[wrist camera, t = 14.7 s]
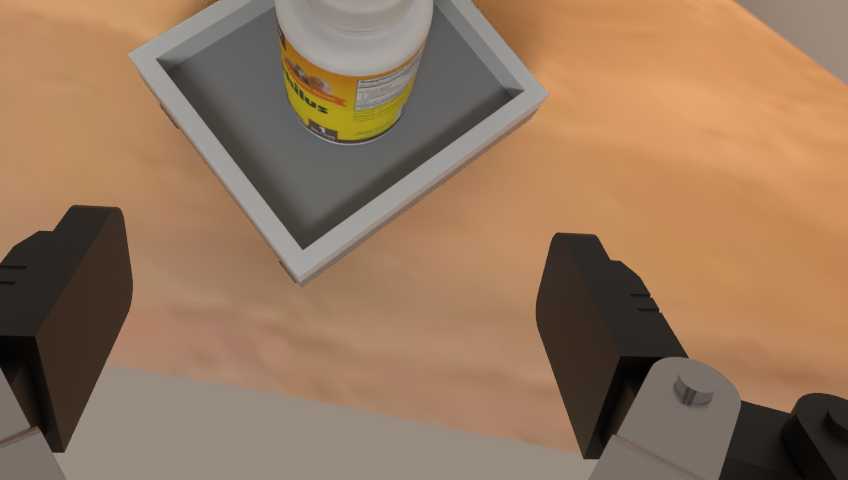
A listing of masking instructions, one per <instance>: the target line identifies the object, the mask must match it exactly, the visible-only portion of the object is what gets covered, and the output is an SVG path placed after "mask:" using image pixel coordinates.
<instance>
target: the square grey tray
mask: <svg viewBox="0 0 848 480" xmlns="http://www.w3.org/2000/svg"><path fill="white" fill-rule="evenodd" d="M128 55H129V57H130V59H131V61H132V62H133V64H134V66H135V67H136V69H137V71H138V72H139V74H140V76H141V77H142V79H143V81H144V82H145V84H146V85H147V87H148V88H149V89H150V91H151V92H152V93H153V95H154V96H155V97H156V99H157V100H158V101H159V102H160V106H161V108H162V109H163V111H164V112H165V113H166V115H167V116H168V117H169V119H170V120H171V121H172V123H173V124H174V125H175V126H176V128H178V129H180V130H181V131H182V133H183V134H184V135H185V136H186V138H187V139H188V140H189V142H190V143H191V144H192V146H193V147H194V148H195V150H196V151H197V152H198V154H199V155H200V156H201V157H202V159H203V160H204V161H205V163H206V164H207V165H208V167H209V168H210V169H211V171H212V172H213V173H214V174H215V176H216V177H217V178H218V180H219V181H220V182H221V184H222V185H223V186H224V188H225V189H226V190H227V191H228V193H229V194H230V195H231V197H232V198H233V199H234V201H235V202H236V203H237V205H238V206H239V207H240V208H241V210H242V211H243V212H244V214H245V215H246V216H247V218H248V219H249V220H250V222H251V223H252V224H253V226H254V227H255V228H256V229H257V231H258V232H259V233H260V235H261V236H262V237H263V239H264V240H265V241H266V243H267V244H268V245H269V246H270V248H271V249H272V250H273V252H274V253H275V254H276V256H277V257H278V258H279V260H280V261H279V263H280V264H281V265H282V267H283V268H284V269H285V271H286V272H287V273H288V274H289V276H290V277H291V278H292V280H293V281H294V282H295V283H298V284H299V286H300V287H301V288H302V287H303V286H304V285H306V284H307V283H308V282H310V281H311V280H312V279H314V278H315V277H317V276H318V275H319V274H321V273H322V272H323V271H325V270H326V269H327V268H329V267H330V266H332V265H333V264H334V263H336V262H337V261H338V260H340V259H341V258H342V257H344V256H345V255H346V254H348V253H349V252H351V251H352V250H353V249H355V248H356V247H357V246H359V245H360V244H361V243H363V242H364V241H365V240H367V239H368V238H370V237H371V236H372V235H374V234H375V233H376V232H378V231H379V230H380V229H382V228H383V227H385V226H386V225H387V224H389V223H390V222H391V221H393V220H394V219H395V218H397V217H398V216H399V215H401V214H402V213H404V212H405V211H406V210H408V209H409V208H410V207H412V206H413V205H414V204H416V203H417V202H418V201H420V200H421V199H423V198H424V197H425V196H427V195H428V194H429V193H431V192H432V191H433V190H435V189H436V188H438V187H439V186H440V185H442V184H443V183H444V182H446V181H447V180H448V179H450V178H451V177H452V176H454V175H455V174H457V173H458V172H459V171H461V170H462V169H463V168H465V167H466V166H467V165H469V164H470V163H471V162H473V161H474V160H476V159H477V158H478V157H480V156H481V155H482V154H484V153H485V152H486V151H488V150H489V149H491V148H492V147H493V146H495V145H496V144H497V143H499V142H500V141H501V140H503V139H504V138H505V137H507V136H508V135H510V134H511V133H512V132H514V131H515V130H516V129H518V128H519V127H520V126H522V125H523V124H524V123H526V122H527V121H529V120H530V119H531V118H532V116H533V115H534V114H535V112H536V111H537V110H538V108H539V107H540V106H541V104H542V103H543V102H544V100H545V99H546V98H547V96H548V95H549V94H548V93H547V92H546V90H545V89H544V88H543V87H542V85H541V84H540V83H539V82H538V81H537V79H536V78H535V77H534V76H533V75H532V73H531V72H530V71H529V70H528V69H527V67H526V66H525V65H524V64H523V63H522V61H521V60H520V59H519V58H518V57H517V55H516V54H515V53H514V52H513V51H512V49H511V48H510V47H509V46H508V44H507V43H506V42H505V41H504V40H503V38H502V37H501V36H500V35H499V34H498V32H497V31H496V30H495V29H494V28H493V26H492V25H491V24H490V23H489V22H488V20H487V19H486V18H485V17H484V16H483V14H482V13H481V12H480V11H479V10H478V8H477V7H476V6H475V5H474V3H473V2H472V1H471V0H433V15H432V21H431V26H430V29H429V33H428V36H427V39H426V43H425V46H424V50H423V53H422V56H421V60H420V63H419V67H418V70H417V74H416V77H415V80H414V83H413V87H412V90H411V93H410V96H409V100H408V103H407V106H406V108H405V111H404V113H403V115H402V117H401V118H400V120H399V121H398V123H397V124H396V125H395V126H394V127H393V128H392V129H391V130H390V131H389V132H388V133H386V134H385V135H384V136H382V137H380V138H378V139H376V140H374V141H372V142H368V143H365V144H360V145H340V144H335V143H331V142H328V141H326V140H323V139H321V138H319V137H317V136H316V135H314V134H312V133H311V132H310V131H309V130H307V129H306V128H305V127H304V126H303V125H302V124H301V123H300V122H299V120H298V119H297V118H296V116H295V115H294V113H293V111H292V109H291V107H290V104H289V102H288V98H287V94H286V89H285V82H284V73H283V66H282V58H281V51H280V42H279V34H278V27H277V19H276V12H275V0H219V1H217V2H215V3H214V4H212V5H210V6H208V7H207V8H205V9H203V10H202V11H200V12H198V13H197V14H195V15H193V16H191V17H190V18H188V19H186V20H185V21H183V22H181V23H180V24H178V25H176V26H174V27H173V28H171V29H169V30H168V31H166V32H164V33H163V34H161V35H159V36H157V37H156V38H154V39H152V40H151V41H149V42H147V43H146V44H144V45H142V46H140V47H139V48H137V49H135V50H134V51H132V52H130V53H129V54H128Z"/></svg>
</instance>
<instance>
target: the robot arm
mask: <svg viewBox="0 0 848 480" xmlns="http://www.w3.org/2000/svg"><path fill="white" fill-rule="evenodd" d="M132 292H133V279H132V271H131V264H130V257H129V250H128V243H127V236H126V229H125V222H124V217H123V213H122V211H121V209H120V208H118V207H104V206H86V205H73V206H71V207H70V208H69V210H68V211H67V212H66V214H65V215H64V217H63V218H62V219H61V221H60V222H59V224H58V225H57V226H56V228H55V229H54V230H53V231H38V232H36V233H35V234H33V235H32V236H30V237H28V238H27V239H25V240H23V241H22V242H20V243H18V244H17V245H15V246H14V247H13V248H12V249H11V250H10V252H9V253H8V254H7V256H6V257H5V258H4V259H3V261H2V262H1V263H0V480H66V478H65V476H64V474H63V472H62V470H61V468H60V466H59V464H58V463H57V461H56V459H55V457H54V455H53V453H52V452H54V453H59V452H60V453H64V452H65V450H66V448H67V446H68V443H69V441H70V439H71V437H72V434H73V432H74V430H75V428H76V426H77V423H78V421H79V419H80V417H81V415H82V413H83V411H84V408H85V406H86V404H87V402H88V400H89V397H90V395H91V393H92V391H93V389H94V387H95V384H96V382H97V380H98V378H99V376H100V373H101V371H102V369H103V367H104V365H105V362H106V360H107V358H108V356H109V354H110V352H111V349H112V347H113V345H114V343H115V341H116V338H117V336H118V334H119V332H120V330H121V327H122V325H123V323H124V321H125V319H126V317H127V314H128V312H129V309H130V305H131V300H132ZM536 322H537V327H538V330H539V333H540V336H541V339H542V342H543V344H544V347H545V350H546V353H547V356H548V359H549V362H550V365H551V367H552V370H553V373H554V376H555V379H556V382H557V385H558V387H559V390H560V393H561V396H562V399H563V402H564V405H565V407H566V410H567V413H568V416H569V419H570V422H571V425H572V427H573V430H574V433H575V436H576V439H577V442H578V445H579V447H580V450H581V453H582V456H583V459H599V461H598V463H597V465H596V467H595V468H594V470H593V472H592V474H591V476H590V478H589V480H848V400H846V399H843V398H840V397H837V396H834V395H830V394H823V393H811V394H807V395H804V396H802V397H801V398H799V400H798V401H797V403H796V404H795V406H794V408H793V410H792V411H791V413H786V412H783V411H779V410H775V409H771V408H767V407H763V406H760V405H756V404H752V403H748V402H745V401H742V400H741V399H740V396H739V393H738V391H737V389H736V388H735V386H734V385H733V384H732V383H731V382H730V381H729V380H728V379H727V378H726V377H725V376H724V375H723V374H721V373H720V372H719V371H717V370H715V369H714V368H712V367H710V366H708V365H706V364H704V363H701V362H699V361H696V360H692V359H689V357H688V356H687V354H686V352H685V351H684V349H683V347H682V346H681V344H680V342H679V341H678V339H677V337H676V336H675V334H674V333H673V331H672V329H671V328H670V326H669V324H668V323H667V321H666V319H665V318H664V316H663V314H662V313H659V308H658V306H657V305H656V303H655V301H654V300H653V298H650V293H649V291H648V290H647V288H646V286H645V285H644V283H643V281H642V280H641V278H640V277H639V276H638V275H637V274H636V273H634V272H633V271H632V270H631V269H629V268H628V267H627V266H626V265H625V264H623V263H622V262H621V261H614V260H610V258H609V257H608V255H607V253H606V251H605V250H604V248H603V246H602V244H601V242H600V241H599V239H598V237H597V236H596V235H594V234H577V233H556V234H555V235H554V236H553V238H552V241H551V244H550V248H549V252H548V256H547V260H546V264H545V268H544V272H543V275H542V279H541V283H540V287H539V291H538V295H537V301H536Z"/></svg>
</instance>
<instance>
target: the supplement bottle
mask: <svg viewBox="0 0 848 480" xmlns="http://www.w3.org/2000/svg"><path fill="white" fill-rule="evenodd" d="M275 12H276V19H277V27H278V34H279V42H280V51H281V58H282V66H283V73H284V82H285V89H286V94H287V98H288V102H289V104H290V107H291V109H292V111H293V113H294V115H295V116H296V118H297V119H298V120H299V122H300V123H301V124H302V125H303V126H304V127H305V128H306V129H307V130H309V131H310V132H311V133H312V134H314V135H316V136H317V137H319V138H321V139H323V140H326V141H328V142H331V143H335V144H340V145H360V144H365V143H368V142H372V141H374V140H376V139H378V138H380V137H382V136H384V135H385V134H386V133H388V132H389V131H390V130H391V129H392V128H393V127H394V126H395V125H396V124H397V123H398V121H399V120H400V118H401V117H402V115H403V113H404V111H405V108H406V106H407V103H408V100H409V96H410V93H411V90H412V87H413V83H414V80H415V77H416V74H417V70H418V67H419V63H420V60H421V56H422V53H423V50H424V46H425V43H426V39H427V36H428V33H429V29H430V26H431V21H432V15H433V0H275Z"/></svg>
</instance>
